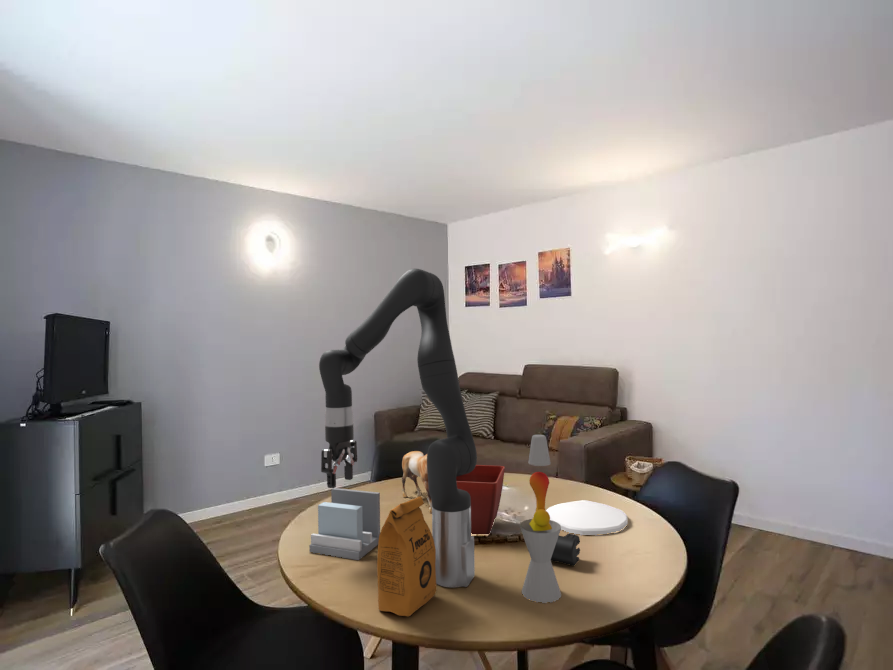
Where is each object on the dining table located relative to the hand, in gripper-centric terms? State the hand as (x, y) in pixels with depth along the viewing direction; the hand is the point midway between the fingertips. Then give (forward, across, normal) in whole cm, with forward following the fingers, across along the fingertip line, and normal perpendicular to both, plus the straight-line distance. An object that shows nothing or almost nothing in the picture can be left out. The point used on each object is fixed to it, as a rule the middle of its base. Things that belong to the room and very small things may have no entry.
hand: (340, 483), depth 140 cm
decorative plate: (+19, +44, -60) cm, 77 cm away
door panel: (+16, 0, 0) cm, 16 cm away
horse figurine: (+18, +46, -6) cm, 50 cm away
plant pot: (+18, +26, -28) cm, 43 cm away
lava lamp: (+19, -6, -55) cm, 58 cm away
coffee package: (+19, -20, -29) cm, 40 cm away
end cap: (+19, +12, -56) cm, 60 cm away
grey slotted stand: (+18, +2, 0) cm, 18 cm away
